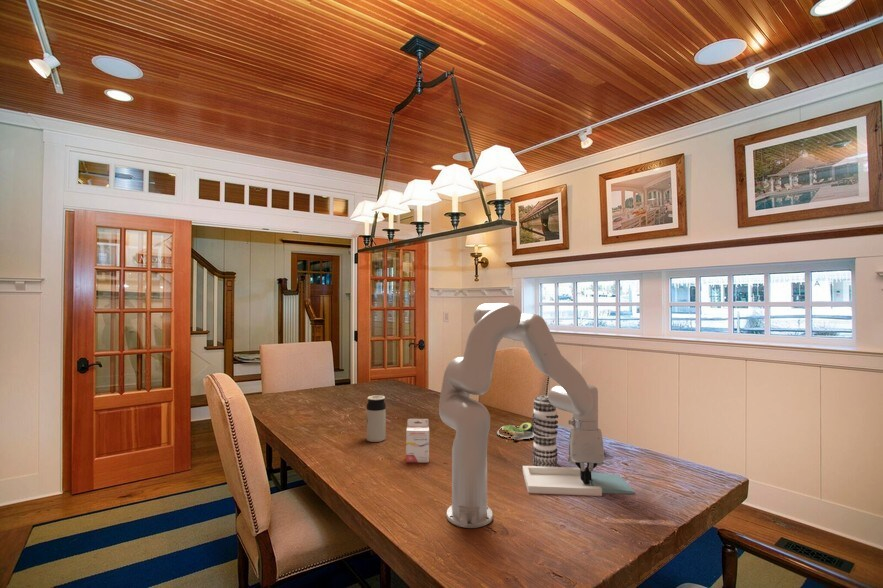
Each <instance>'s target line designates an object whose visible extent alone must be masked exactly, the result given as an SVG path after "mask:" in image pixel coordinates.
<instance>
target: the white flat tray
mask: <svg viewBox="0 0 883 588" xmlns="http://www.w3.org/2000/svg"><path fill="white" fill-rule="evenodd" d="M522 474H523V478H524V482H525V485H526V489H527V493H528V494H545V495H548V494H549V495H570V496H571V495H572V496H594V497H595V496H596V497H598V496H600V497H602V496H603V493H602V488H601V487H597V486H592V485H591V483H590V484H584V483H583V481H582V480H581V474H580V468H579V467H575V466H574V467H573V466H572V467H571V466H556V467H547V466H535V465H522Z"/></svg>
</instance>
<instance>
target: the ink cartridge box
mask: <svg viewBox="0 0 883 588" xmlns="http://www.w3.org/2000/svg"><path fill="white" fill-rule="evenodd" d="M406 420H407V422H406V423H407V426H406V433H405V439H406V440H405V462H406V463H429V459H430V427H429V425H430V423H429V421H430V420H429V419H428V418H408V419H406ZM417 422H418V423H417Z"/></svg>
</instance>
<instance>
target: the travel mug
mask: <svg viewBox="0 0 883 588" xmlns="http://www.w3.org/2000/svg"><path fill="white" fill-rule="evenodd" d="M385 398H386V396H384V395H380V394H379V395H378V394H377V395H375V394H374V395H369V396H368V397H367V401H368V402H367V404H366V441H367V442H371V443H380V442H383V441H385V440H386V431H387V430H386V424H387V423H386V420H387V419H386V416H387V414H386V413H387V412H386V411H387V410H386V408H387V407H386V406H387V405H386V403H385Z"/></svg>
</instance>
